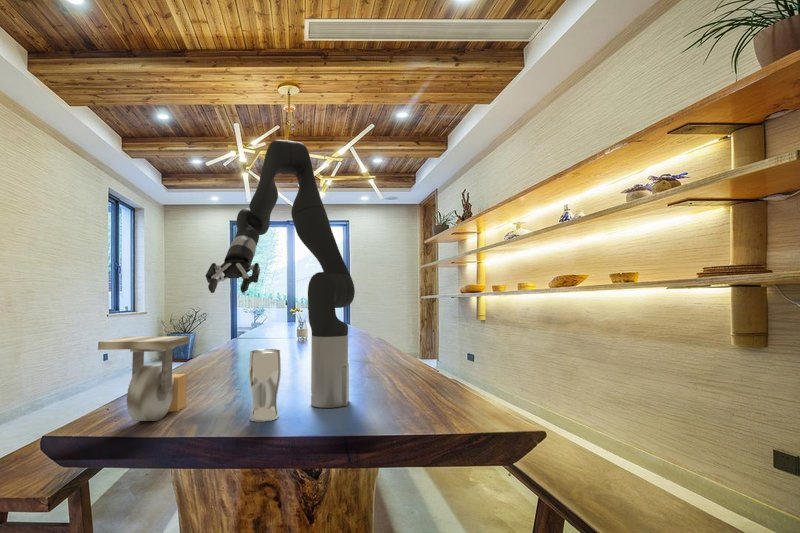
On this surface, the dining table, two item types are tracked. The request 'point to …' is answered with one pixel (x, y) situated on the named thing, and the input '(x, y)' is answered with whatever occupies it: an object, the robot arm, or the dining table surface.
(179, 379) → the orange tan block
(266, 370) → the beer glass
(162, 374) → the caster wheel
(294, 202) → the robot arm
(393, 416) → the dining table surface
